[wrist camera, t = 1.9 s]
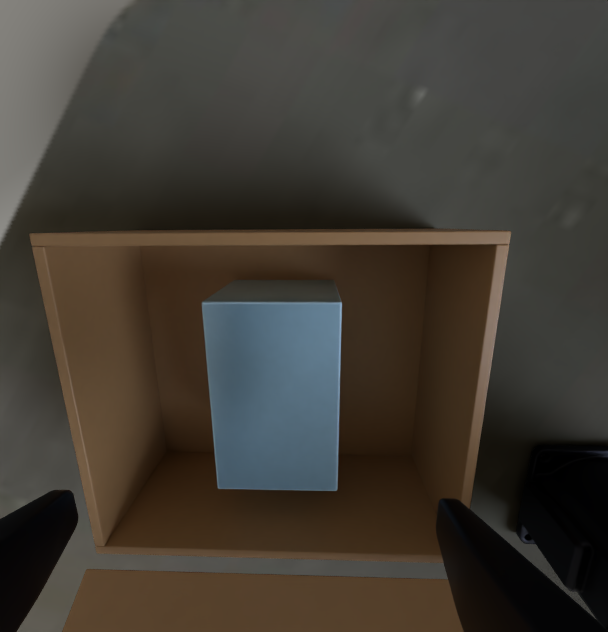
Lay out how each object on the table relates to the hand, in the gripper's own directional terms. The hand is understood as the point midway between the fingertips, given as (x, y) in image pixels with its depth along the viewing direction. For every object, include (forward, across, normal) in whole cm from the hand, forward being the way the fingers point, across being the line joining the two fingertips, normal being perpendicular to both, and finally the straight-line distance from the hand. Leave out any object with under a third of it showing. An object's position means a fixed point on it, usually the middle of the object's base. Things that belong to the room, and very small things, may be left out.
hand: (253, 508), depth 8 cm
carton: (+10, 0, 0) cm, 10 cm away
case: (+10, 0, 0) cm, 10 cm away
